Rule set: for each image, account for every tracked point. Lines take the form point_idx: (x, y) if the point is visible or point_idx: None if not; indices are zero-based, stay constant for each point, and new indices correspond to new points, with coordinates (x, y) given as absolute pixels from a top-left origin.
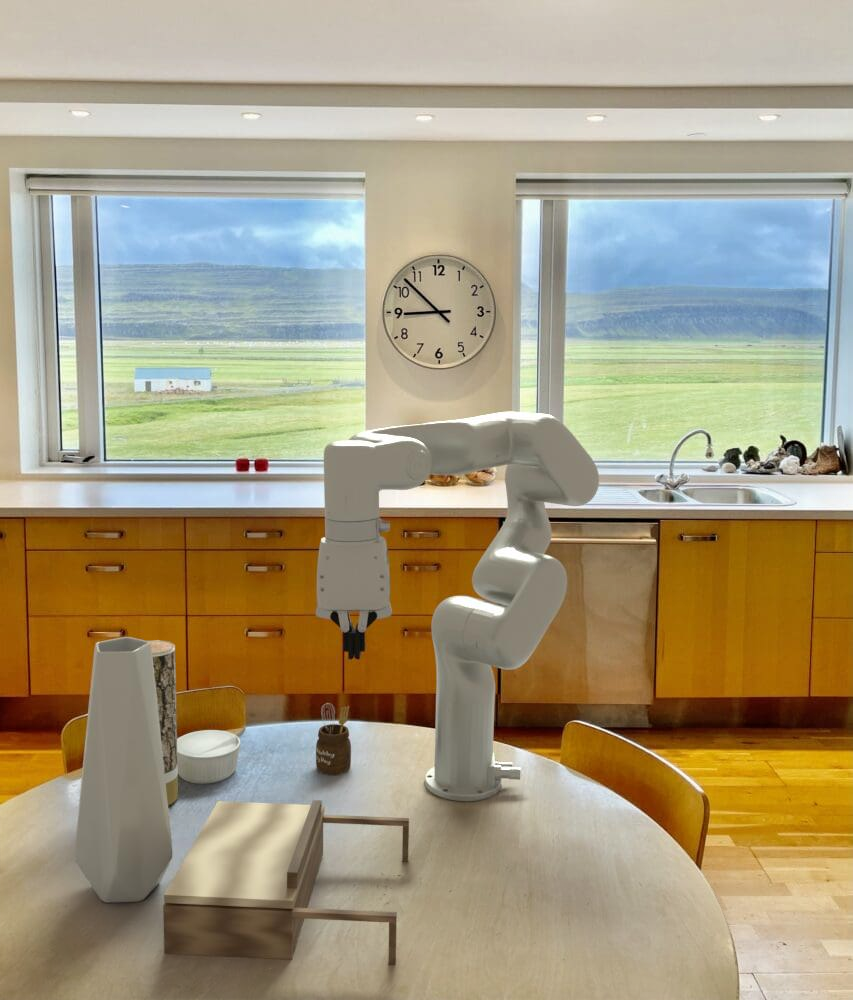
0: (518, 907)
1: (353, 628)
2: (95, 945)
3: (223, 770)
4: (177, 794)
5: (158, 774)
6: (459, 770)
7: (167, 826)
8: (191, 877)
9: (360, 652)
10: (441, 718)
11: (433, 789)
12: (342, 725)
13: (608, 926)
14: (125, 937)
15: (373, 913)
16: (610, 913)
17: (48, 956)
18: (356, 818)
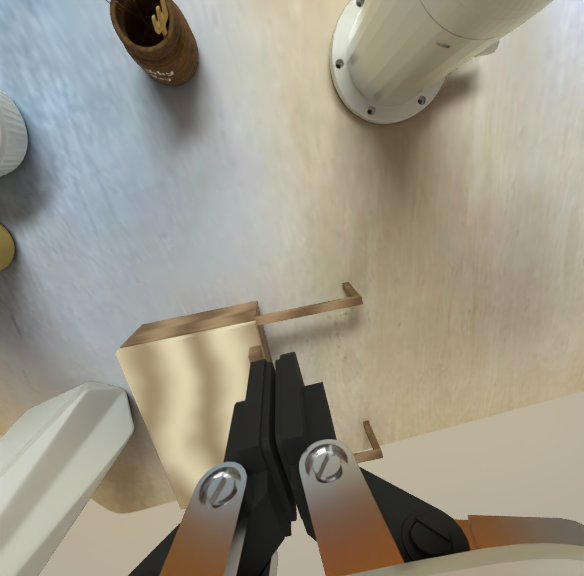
0: (462, 331)
1: (271, 463)
2: (136, 468)
3: (17, 154)
4: (6, 234)
5: (65, 532)
6: (404, 96)
7: (114, 461)
8: (188, 484)
9: (300, 376)
10: (405, 41)
11: (351, 108)
12: (164, 27)
13: (538, 336)
14: (152, 455)
15: (363, 459)
16: (543, 317)
17: (112, 486)
18: (298, 316)
